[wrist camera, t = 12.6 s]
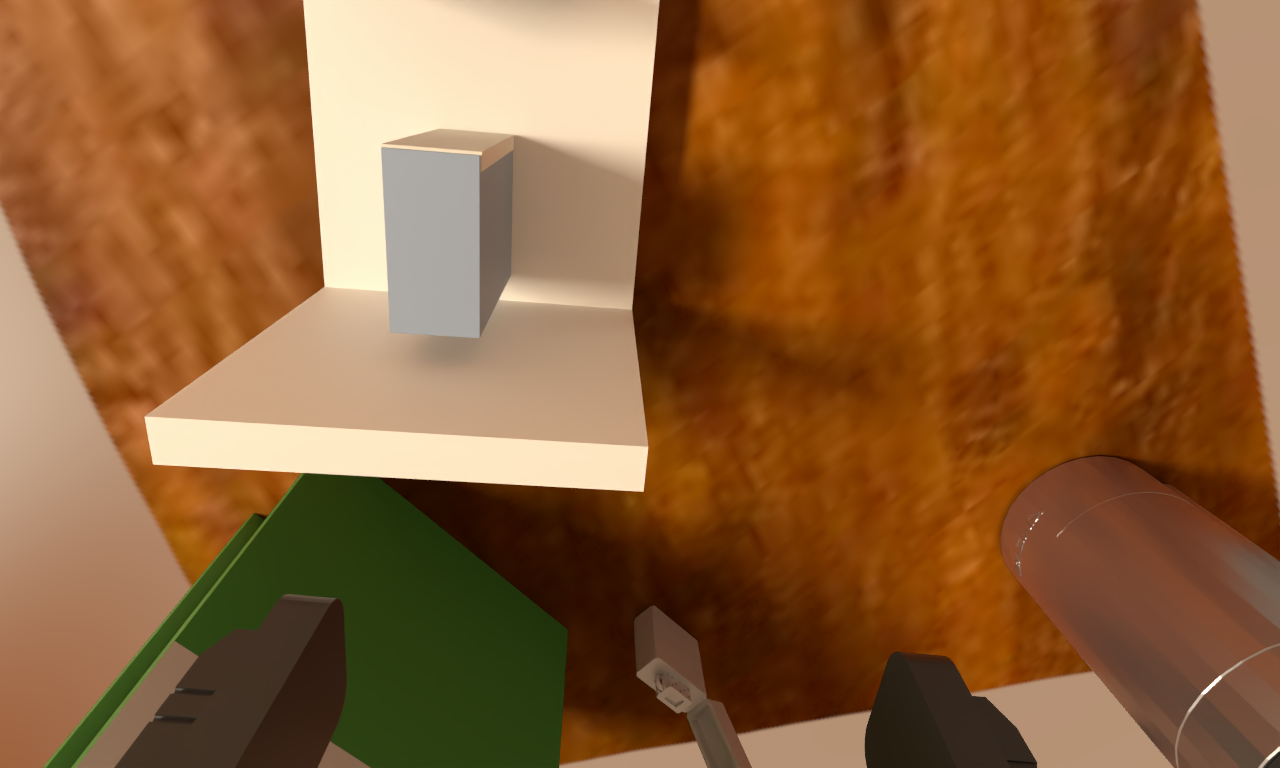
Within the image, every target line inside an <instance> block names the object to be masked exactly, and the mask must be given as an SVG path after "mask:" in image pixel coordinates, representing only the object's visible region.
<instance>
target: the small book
mask: <svg viewBox="0 0 1280 768" xmlns="http://www.w3.org/2000/svg"><path fill="white" fill-rule="evenodd" d="M513 150H514V135H513V134H501V133H489V132H477V131H465V130H453V129H441V128H439V129H435V130H431V131H428V132H424V133H420V134H416V135H412V136H408V137H405V138H401V139H397V140H393V141H389V142H386V143H382V144H381V158H382V178H383V199H384V219H385V239H386V260H387V280H388V300H389V320H390V333H404V334H420V335H436V336H452V337H468V338H480V336H481V334H482V332H483V330H484V328H485V326H486V324H487V322H488V320H489V318H490V316H491V314H492V312H493V310H494V308H495V306H496V304H497V302H498V300H499V298H500V296H501V294H502V292H503V290H504V288H505V286H506V284H507V282H508V280H509V278H510V276H511V250H512V187H513Z"/></svg>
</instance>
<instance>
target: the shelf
mask: <svg viewBox="0 0 1280 768" xmlns="http://www.w3.org/2000/svg"><path fill="white" fill-rule="evenodd" d="M303 1H304V14H305V27H306V41H307V54H308V68H309V81H310V95H311V108H312V121H313V135H314V148H315V162H316V175H317V189H318V202H319V215H320V229H321V242H322V256H323V269H324V283H325V287H324V288H322V289H321V290H320V291H318V292H317V293H316V294H314V295H313V296H311V297H310V298H309V299H307V300H306V301H304V302H303V303H302V304H300V305H299V306H297V307H296V308H295V309H293V310H292V311H290V312H289V313H288V314H286V315H285V316H284V317H282V318H281V319H279V320H278V321H277V322H275V323H274V324H272V325H271V326H270V327H268V328H267V329H265V330H264V331H263V332H261V333H260V334H259V335H257V336H256V337H254V338H253V339H252V340H250V341H249V342H247V343H246V344H245V345H243V346H242V347H240V348H239V349H238V350H236V351H235V352H233V353H232V354H231V355H229V356H228V357H227V358H225V359H224V360H222V361H221V362H220V363H218V364H217V365H215V366H214V367H213V368H211V369H210V370H208V371H207V372H206V373H204V374H203V375H202V376H200V377H199V378H197V379H196V380H195V381H193V382H192V383H190V384H189V385H188V386H186V387H185V388H183V389H182V390H181V391H179V392H178V393H176V394H175V395H174V396H172V397H171V398H170V399H168V400H167V401H165V402H164V403H163V404H161V405H160V406H158V407H157V408H156V409H154V410H153V411H151V412H150V413H149V414H147V415H146V416H145V422H146V428H147V433H148V439H149V444H150V450H151V455H152V461H153V464H155V465H173V466H191V467H209V468H227V469H245V470H263V471H281V472H299V473H317V474H335V475H353V476H371V477H389V478H407V479H425V480H443V481H461V482H479V483H497V484H515V485H533V486H550V487H568V488H586V489H604V490H622V491H640V492H644V482H645V473H646V463H647V454H648V441H647V432H646V424H645V415H644V407H643V398H642V390H641V381H640V373H639V364H638V356H637V347H636V339H635V330H634V322H633V313H632V305H633V293H634V282H635V271H636V259H637V248H638V237H639V226H640V214H641V203H642V192H643V181H644V169H645V158H646V147H647V136H648V124H649V113H650V102H651V91H652V79H653V68H654V57H655V46H656V34H657V23H658V12H659V0H303ZM439 128H441V129H453V130H465V131H477V132H489V133H501V134H513V135H514V150H513V187H512V250H511V276H510V278H509V280H508V282H507V284H506V286H505V288H504V290H503V292H502V294H501V296H500V298H499V300H498V302H497V304H496V306H495V308H494V310H493V312H492V314H491V316H490V318H489V320H488V322H487V324H486V326H485V328H484V330H483V332H482V334H481V336H480V338H468V337H452V336H436V335H420V334H404V333H390V320H389V300H388V280H387V260H386V239H385V219H384V199H383V178H382V158H381V144H382V143H386V142H389V141H393V140H397V139H401V138H405V137H408V136H412V135H416V134H420V133H424V132H428V131H431V130H435V129H439Z"/></svg>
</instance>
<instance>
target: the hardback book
mask: <svg viewBox="0 0 1280 768" xmlns="http://www.w3.org/2000/svg"><path fill="white" fill-rule="evenodd" d="M285 594H293V595H304V596H315V597H325V598H336V599H340V600H341V601H342V604H343V608H344V626H345V648H346V669H347V687H346V695H345V701H344V705H343V709H342V713H341V716H340V719H339V722H338V725H337V727H336V729H335V732H334V734H333V736H332V738H331V740H330V742H329V745H328V747H327V749H326V751H325V753H324V755H323V757H322V760H321V762H320V764H319V766H318V768H559V759H560V745H561V730H562V715H563V701H564V686H565V671H566V657H567V642H568V629H566V628H565V627H564V626H563V625H561V624H560V623H559V622H558V621H556V620H555V619H554V618H553V617H551V616H550V615H549V614H548V613H546V612H545V611H544V610H543V609H541V608H540V607H539V606H538V605H536V604H535V603H534V602H533V601H532V600H530V599H529V598H528V597H527V596H525V595H524V594H523V593H522V592H520V591H519V590H518V589H517V588H515V587H514V586H513V585H512V584H510V583H509V582H508V581H507V580H505V579H504V578H503V577H502V576H500V575H499V574H498V573H497V572H495V571H494V570H493V569H492V568H490V567H489V566H488V565H487V564H486V563H484V562H483V561H482V560H481V559H479V558H478V557H477V556H476V555H474V554H473V553H472V552H471V551H469V550H468V549H467V548H466V547H464V546H463V545H462V544H461V543H459V542H458V541H457V540H456V539H454V538H453V537H452V536H451V535H449V534H448V533H447V532H446V531H445V530H443V529H442V528H441V527H440V526H438V525H437V524H436V523H435V522H433V521H432V520H431V519H430V518H428V517H427V516H426V515H425V514H423V513H422V512H421V511H420V510H418V509H417V508H416V507H415V506H413V505H412V504H411V503H410V502H408V501H407V500H406V499H405V498H403V497H402V496H401V495H400V494H399V493H397V492H396V491H395V490H394V489H392V488H391V487H390V486H389V485H387V484H386V483H385V482H384V481H382V480H381V479H380V478H379V477H371V476H353V475H335V474H317V473H301V474H300V476H299V477H298V478H297V480H296V481H295V482H294V483H293V485H292V486H291V487H290V489H289V490H288V491H287V492H286V494H285V495H284V496H283V497H282V499H281V500H280V501H279V503H278V504H277V505H276V506H275V508H274V509H273V510H272V512H271V513H270V514H269V515H268V517H267V518H266V519H265V520H264V519H262V518H261V517H259V516H258V515H257V514H255V513H254V514H253V515H252V516H251V517H250V518H249V519H248V520H247V521H246V522H245V523H244V524H243V525H242V526H241V528H240V529H239V530H238V531H237V532H236V534H235V535H234V536H233V537H232V538H231V540H230V541H229V542H228V543H227V544H226V546H225V547H224V548H223V549H222V551H221V552H220V553H219V554H218V555H217V557H216V558H215V559H214V560H213V561H212V563H211V564H210V565H209V566H208V568H207V569H206V570H205V571H204V572H203V574H202V575H201V576H200V577H199V578H198V580H197V581H196V582H195V583H194V585H193V586H192V587H191V588H190V589H189V591H188V592H187V593H186V594H185V595H184V597H183V598H182V599H181V600H180V602H179V603H178V604H177V605H176V606H175V608H174V609H173V610H172V611H171V612H170V614H169V615H168V616H167V617H166V619H165V620H164V621H163V622H162V623H161V625H160V626H159V627H158V628H157V629H156V631H155V632H154V633H153V634H152V636H151V637H150V638H149V639H148V640H147V642H146V643H145V644H144V645H143V646H142V648H141V649H140V650H139V651H138V653H137V654H136V655H135V656H134V657H133V659H132V660H131V661H130V662H129V663H128V665H127V666H126V667H125V668H124V669H123V671H122V672H121V673H120V674H119V676H118V677H117V678H116V679H115V680H114V682H113V683H112V684H111V685H110V687H109V688H108V689H107V690H106V691H105V692H104V694H103V695H102V696H101V697H100V699H99V700H98V701H97V702H96V703H95V705H94V706H93V707H92V708H91V710H90V711H89V712H88V713H87V714H86V716H85V717H84V718H83V719H82V720H81V722H80V723H79V724H78V725H77V727H76V728H75V729H74V730H73V731H72V733H71V734H70V735H69V736H68V737H67V739H66V740H65V741H64V742H63V744H62V745H61V746H60V747H59V748H58V750H57V751H56V752H55V753H54V754H53V756H52V757H51V758H50V759H49V760H48V762H47V763H46V764H45V765H44V767H43V768H114V767H115V766H116V765H117V763H118V762H119V761H120V759H121V758H122V757H123V755H124V754H125V753H126V751H127V750H128V749H129V748H130V746H131V745H132V744H133V742H134V741H135V740H136V738H137V737H138V736H139V734H140V733H141V732H142V730H143V729H144V728H145V726H146V725H147V724H148V723H149V722H152V721H153V720H154V717H155V713H156V712H157V711H158V709H159V708H160V707H161V705H162V704H163V703H164V701H165V700H166V699H167V698H168V696H169V695H170V694H174V692H175V688H176V686H177V684H178V683H179V682H180V680H181V679H182V678H183V676H184V675H185V674H186V673H187V671H188V670H189V669H190V667H191V666H192V665H193V663H194V662H195V661H196V659H197V658H198V657H199V655H200V654H202V653H203V652H204V651H206V650H207V649H209V648H210V647H211V646H213V645H214V644H216V643H217V642H218V641H220V640H221V639H223V638H224V637H225V636H227V635H228V634H229V633H231V632H232V631H234V630H235V629H236V628H237V629H248V630H258V628H259V627H260V625H261V624H262V623H263V621H264V620H265V618H266V617H267V615H268V614H269V612H270V611H271V610H272V608H273V607H274V605H275V604H276V602H277V601H278V600H279V599H280V598H281V597H282V596H283V595H285Z"/></svg>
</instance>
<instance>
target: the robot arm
mask: <svg viewBox="0 0 1280 768" xmlns="http://www.w3.org/2000/svg"><path fill="white" fill-rule="evenodd" d="M1000 538H1001V552H1002V555H1003V558H1004V561H1005V563H1006V565H1007V566H1008V568H1009V569H1010V571H1011V572H1012V574H1013V575H1014V576H1015V577H1016V578H1017V580H1018V581H1019V582H1020V583H1021V584H1022V586H1023V587H1024V588H1025V589H1026V590H1027V592H1028V593H1029V594H1030V595H1031V596H1032V598H1033V599H1034V600H1035V601H1036V602H1037V604H1038V605H1039V606H1040V607H1041V608H1042V610H1043V611H1044V612H1045V613H1046V615H1047V616H1048V617H1049V619H1050V620H1051V621H1052V622H1053V623H1054V625H1055V626H1056V627H1057V628H1058V629H1059V631H1060V632H1061V633H1062V634H1063V635H1064V637H1065V638H1066V639H1067V640H1068V641H1069V643H1070V644H1071V645H1072V646H1073V647H1074V649H1075V650H1076V651H1077V652H1078V653H1079V654H1080V656H1081V657H1082V658H1083V659H1084V660H1085V662H1086V663H1087V664H1088V665H1089V666H1090V668H1091V669H1092V670H1093V671H1094V672H1095V674H1096V675H1097V676H1098V677H1099V678H1100V680H1101V681H1102V682H1103V683H1104V684H1105V686H1106V687H1107V688H1108V689H1109V690H1110V692H1111V693H1112V694H1113V695H1114V696H1115V698H1116V699H1117V700H1118V701H1119V702H1120V704H1121V705H1122V706H1123V707H1124V708H1125V710H1126V711H1127V712H1128V713H1129V714H1130V716H1131V717H1132V718H1133V719H1134V720H1135V722H1136V723H1137V724H1138V725H1139V726H1140V728H1141V729H1142V730H1143V731H1144V732H1145V733H1146V735H1147V736H1148V737H1149V738H1150V740H1151V741H1152V742H1153V743H1154V744H1155V746H1157V748H1158V749H1159V750H1160V752H1161V753H1162V754H1163V755H1164V756H1165V758H1166V759H1167V760H1168V761H1169V762H1170V763H1171V765H1172V766H1173V767H1174V768H1280V561H1278V560H1277V559H1276V558H1274V557H1273V556H1271V555H1270V554H1268V553H1267V552H1266V551H1264V550H1263V549H1261V548H1260V547H1259V546H1257V545H1256V544H1254V543H1253V542H1252V541H1250V540H1249V539H1247V538H1246V537H1244V536H1243V535H1242V534H1240V533H1239V532H1237V531H1236V530H1235V529H1233V528H1232V527H1230V526H1229V525H1227V524H1226V523H1225V522H1223V521H1222V520H1220V519H1219V518H1218V517H1216V516H1215V515H1213V514H1212V513H1210V512H1209V511H1208V510H1206V509H1205V508H1203V507H1202V506H1201V505H1199V504H1198V503H1196V502H1195V501H1194V500H1192V499H1191V498H1189V497H1188V496H1186V495H1185V494H1184V493H1182V492H1181V491H1179V490H1178V489H1177V488H1175V487H1174V486H1172V485H1170V484H1162V483H1161V482H1160V481H1158V480H1157V479H1155V478H1154V477H1153V476H1151V475H1150V474H1148V473H1147V472H1146V471H1144V470H1143V469H1141V468H1140V467H1138V466H1136V465H1135V464H1133V463H1131V462H1129V461H1126V460H1123V459H1119V458H1116V457H1105V456H1094V457H1086V458H1080V459H1076V460H1073V461H1070V462H1066V463H1063V464H1061V465H1059V466H1057V467H1055V468H1053V469H1051V470H1049V471H1047V472H1045V473H1044V474H1043V475H1041V476H1040V477H1038V478H1037V479H1036V480H1034V481H1033V482H1032V483H1031V484H1030V485H1028V486H1027V487H1026V488H1025V489H1024V490H1023V491H1022V492H1021V493H1020V494H1019V496H1018V497H1017V499H1016V500H1015V501H1014V503H1013V504H1012V506H1011V507H1010V509H1009V511H1008V513H1007V516H1006V518H1005V520H1004V522H1003V527H1002V532H1001V537H1000ZM346 687H347V669H346V648H345V626H344V608H343V604H342V601H341V600H340V599H336V598H325V597H315V596H304V595H293V594H285V595H283V596H282V597H281V598H280V599H279V600H278V601H277V602H276V604H275V605H274V607H273V608H272V610H271V611H270V612H269V614H268V615H267V617H266V618H265V620H264V621H263V623H262V624H261V625H260V627H259V628H258V630H248V629H237V628H236V629H235V630H234V631H232V632H231V633H229V634H228V635H227V636H225V637H224V638H223V639H221V640H220V641H218V642H217V643H216V644H214V645H213V646H211V647H210V648H209V649H207V650H206V651H204V652H203V653H202V654H200V655H199V657H198V658H197V659H196V661H195V662H194V663H193V665H192V666H191V667H190V669H189V670H188V671H187V673H186V674H185V675H184V676H183V678H182V679H181V680H180V682H179V683H178V684H177V686H176V688H175V692H174V694H170V695H169V696H168V698H167V699H166V700H165V701H164V703H163V704H162V705H161V707H160V708H159V709H158V711H157V712H156V713H155V717H154V720H153V721H152V722H149V723H148V724H147V725H146V726H145V728H144V729H143V730H142V732H141V733H140V734H139V736H138V737H137V738H136V740H135V741H134V742H133V744H132V745H131V746H130V748H129V749H128V750H127V751H126V753H125V754H124V755H123V757H122V758H121V759H120V761H119V762H118V763H117V765H116V766H115V767H114V768H318V766H319V764H320V762H321V760H322V757H323V755H324V753H325V751H326V749H327V747H328V745H329V742H330V740H331V738H332V736H333V734H334V732H335V729H336V727H337V725H338V722H339V719H340V716H341V713H342V709H343V705H344V701H345V695H346ZM865 758H866V765H867V768H1037V762H1036V760H1035V758H1034V757H1033V755H1032V753H1031V751H1030V750H1029V748H1028V746H1027V745H1026V743H1025V741H1024V739H1023V738H1022V736H1021V734H1020V733H1019V731H1018V729H1017V728H1016V727H1015V726H1014V725H1013V724H1012V723H1011V722H1010V721H1009V720H1008V719H1007V718H1006V717H1005V716H1004V715H1003V714H1002V713H1001V712H1000V711H999V710H998V709H997V708H996V707H995V706H994V705H993V704H992V703H991V702H990V701H989V700H988V699H987V698H986V697H977V696H972V695H971V694H970V692H969V690H968V688H967V686H966V684H965V683H964V681H963V679H962V677H961V675H960V673H959V672H958V670H957V668H956V666H955V665H954V663H953V662H952V661H951V659H949V658H948V657H946V656H938V655H927V654H916V653H905V652H894V653H893V654H892V655H891V656H890V658H889V660H888V662H887V665H886V668H885V671H884V674H883V677H882V681H881V684H880V687H879V690H878V693H877V696H876V699H875V702H874V705H873V709H872V712H871V715H870V718H869V721H868V724H867V728H866V734H865Z"/></svg>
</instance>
